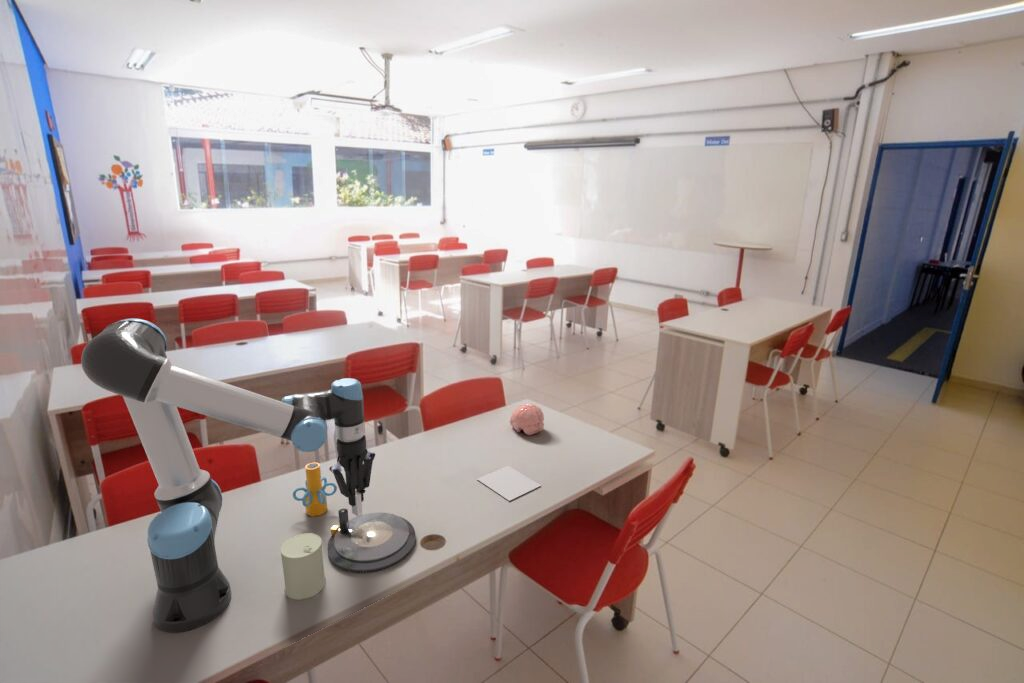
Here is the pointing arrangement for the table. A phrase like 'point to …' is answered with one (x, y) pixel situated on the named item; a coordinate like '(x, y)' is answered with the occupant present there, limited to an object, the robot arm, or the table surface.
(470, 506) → the table surface
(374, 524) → the turntable
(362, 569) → the turntable base
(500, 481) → the paper stack
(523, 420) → the brain
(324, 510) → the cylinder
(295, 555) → the can
